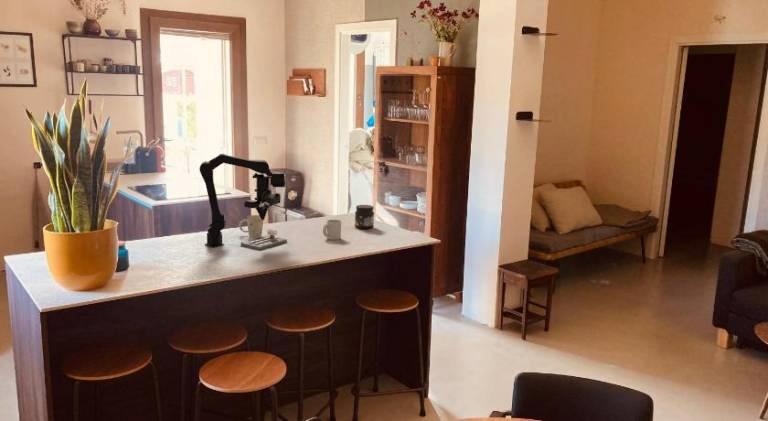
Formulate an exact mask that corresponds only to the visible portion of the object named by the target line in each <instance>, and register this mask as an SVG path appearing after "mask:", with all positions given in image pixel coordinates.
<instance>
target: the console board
mask: <svg viewBox="0 0 768 421" xmlns="http://www.w3.org/2000/svg"><path fill="white" fill-rule="evenodd" d="M286 243H288V239H287V238H283V237H278V236H275V238H273V239H270V235H268V234H267V235H264V236H261V237H258V238H254V239H250V240H245V241H242V242H240V246H241V247H243V248H249V249H252V250H258V251H261V250H264V249H269V248H272V247H275V246H279V245H282V244H286Z"/></svg>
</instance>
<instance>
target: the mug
mask: <svg viewBox="0 0 768 421" xmlns="http://www.w3.org/2000/svg"><path fill="white" fill-rule="evenodd" d="M264 221H265V219H264V220H261V218H260V216H259V214H251V215H247V216H246V218H244V219H241V220H240V221H239V223H238V228H239V230H240V231H241V232H243V233H248V236H249V238H254V239H257V238H260V237H262V236H263V234H262V233H263V227H264V226H263V225H264ZM243 223H247V230H244V229H243V227H242V224H243Z"/></svg>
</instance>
